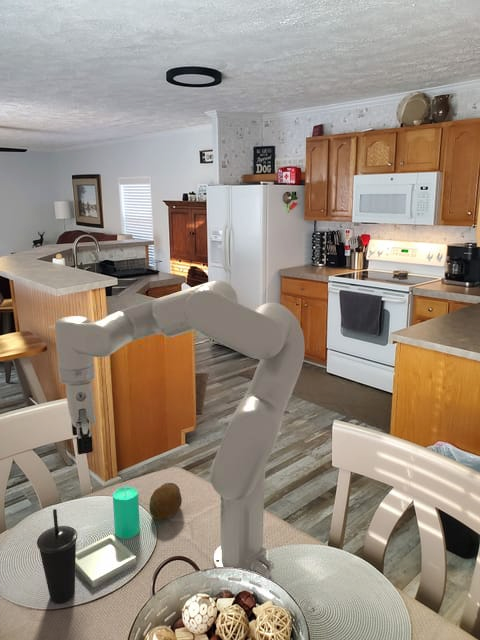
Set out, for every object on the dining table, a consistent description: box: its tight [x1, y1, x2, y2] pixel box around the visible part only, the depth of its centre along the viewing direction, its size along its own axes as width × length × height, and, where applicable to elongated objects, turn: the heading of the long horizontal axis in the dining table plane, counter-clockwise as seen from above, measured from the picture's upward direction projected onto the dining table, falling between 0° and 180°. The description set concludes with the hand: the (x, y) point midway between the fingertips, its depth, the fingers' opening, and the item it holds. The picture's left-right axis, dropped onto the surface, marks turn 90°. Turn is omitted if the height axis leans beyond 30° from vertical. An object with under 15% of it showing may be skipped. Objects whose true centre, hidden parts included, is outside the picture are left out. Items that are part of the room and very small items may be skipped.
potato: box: [149, 482, 183, 520], centre depth 131 cm, size 8×12×8 cm, turn 178°
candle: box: [112, 485, 141, 539], centre depth 124 cm, size 6×6×12 cm
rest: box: [75, 534, 137, 589], centre depth 114 cm, size 11×11×2 cm
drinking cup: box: [36, 508, 78, 605], centre depth 103 cm, size 8×8×20 cm
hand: (82, 443), depth 117 cm, fingers open, 9 cm apart
